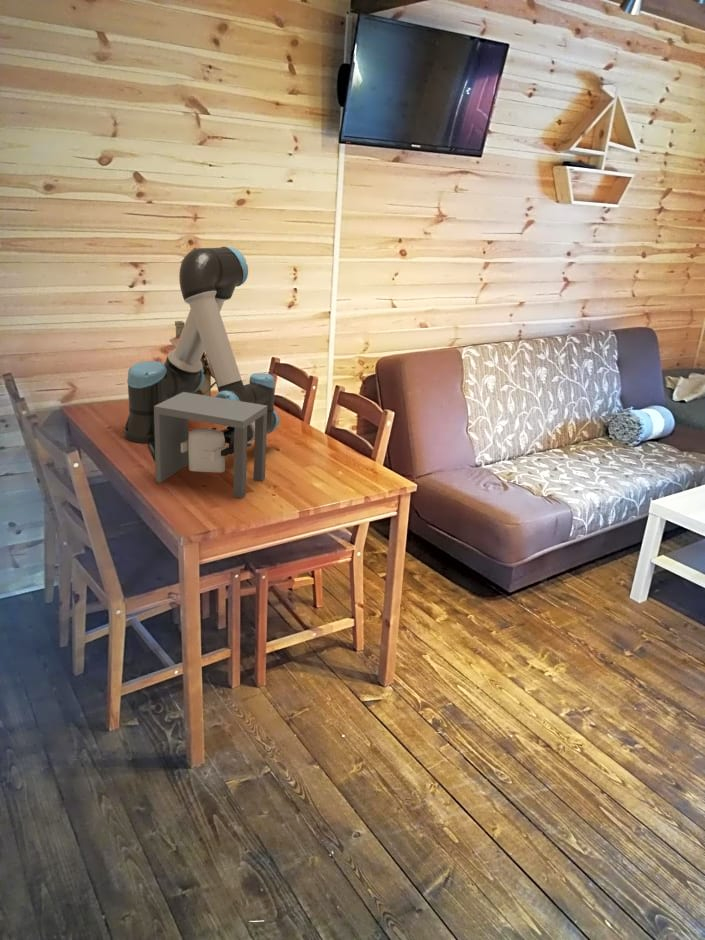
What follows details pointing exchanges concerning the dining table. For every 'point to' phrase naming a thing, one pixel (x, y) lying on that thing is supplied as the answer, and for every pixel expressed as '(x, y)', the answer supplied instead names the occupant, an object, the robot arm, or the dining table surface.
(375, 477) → the dining table surface
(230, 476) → the dining table surface
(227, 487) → the dining table surface
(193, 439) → the photo printer
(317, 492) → the dining table surface
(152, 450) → the phone
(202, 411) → the low shelf
